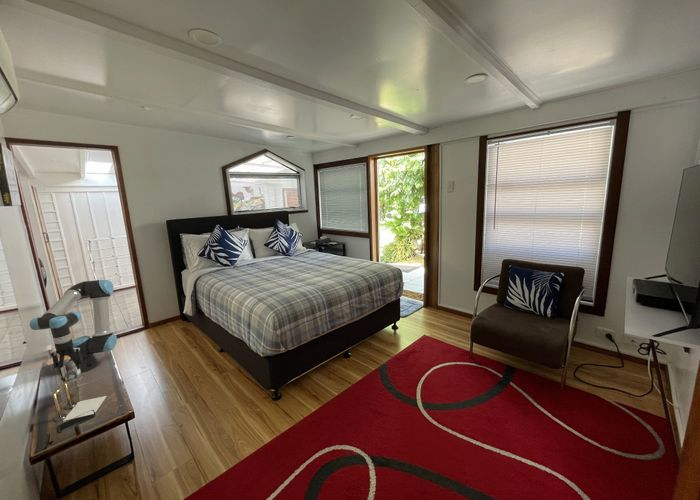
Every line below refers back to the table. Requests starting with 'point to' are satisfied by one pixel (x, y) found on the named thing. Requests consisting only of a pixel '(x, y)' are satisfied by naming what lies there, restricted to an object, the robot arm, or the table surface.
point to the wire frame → (70, 405)
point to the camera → (71, 373)
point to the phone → (75, 422)
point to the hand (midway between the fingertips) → (71, 374)
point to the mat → (85, 408)
